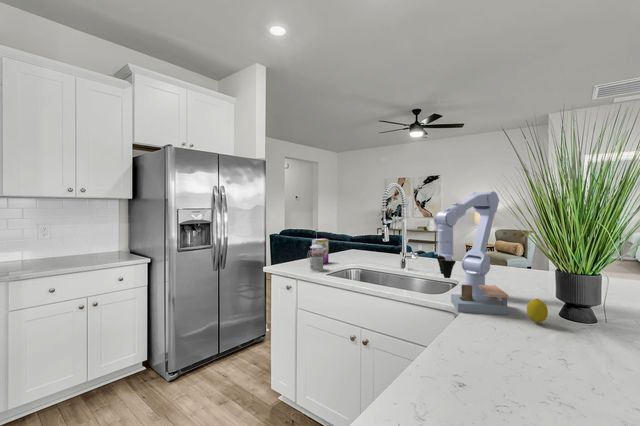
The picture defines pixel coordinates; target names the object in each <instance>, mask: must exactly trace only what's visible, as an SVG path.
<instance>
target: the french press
mask: <svg viewBox="0 0 640 426" xmlns="http://www.w3.org/2000/svg"><path fill="white" fill-rule="evenodd" d="M314 231H315V233H316V234H315V235H316V238H315V239H316V245H312V244H311V246H309V248H310V249H311V251H308V252H307V255H306V256H307V257H306V258H307V261H308V262H309V265H310V266H309V267H310V268H309V269H308V271H309V270H310V271H309V272H317V273H318V272H324V271H326V269H325V268H324V264H323V256H320V255H322V253H317V249H320V248H323V246H321V245H317V239H318V238H317V237H318V236H317V235H318V233H317V231H319V229H318V228H315V229H314ZM312 249H316V253H313V252H312V251H313V250H312ZM312 255H314V256H312ZM318 259H319V260H318ZM318 261H319V262H318Z"/></svg>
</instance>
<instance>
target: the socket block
mask: <svg viewBox="0 0 640 426" xmlns="http://www.w3.org/2000/svg"><path fill="white" fill-rule="evenodd" d="M479 288H480V289H481V290H482V291H483V292H484V293H485V294H486V295H488V296H478V295H472V301H462V294H453V293H452V294H451V295H450V297H451V298H450V302H451V303H452V305H453V307H454V308H455V311H457V313H473V314H474V313H475V314H488V315H489V314H490V315H506V316H508V315H509V308H508V307H509V305H508V299H509V294H508V293H506V292H505V291H504V290H502V289H501V288H500V287H498V286H497V285H490V284H488V285H486V284H485V285H479ZM500 298H501V299H500Z"/></svg>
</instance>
